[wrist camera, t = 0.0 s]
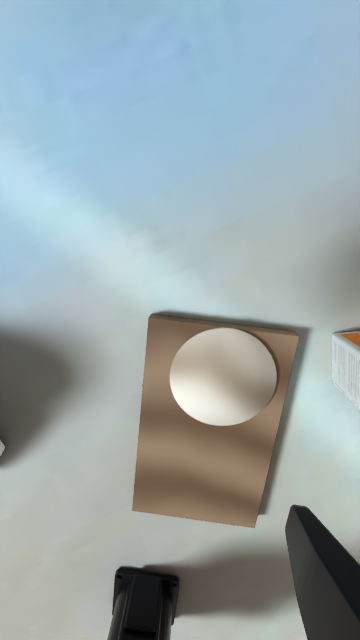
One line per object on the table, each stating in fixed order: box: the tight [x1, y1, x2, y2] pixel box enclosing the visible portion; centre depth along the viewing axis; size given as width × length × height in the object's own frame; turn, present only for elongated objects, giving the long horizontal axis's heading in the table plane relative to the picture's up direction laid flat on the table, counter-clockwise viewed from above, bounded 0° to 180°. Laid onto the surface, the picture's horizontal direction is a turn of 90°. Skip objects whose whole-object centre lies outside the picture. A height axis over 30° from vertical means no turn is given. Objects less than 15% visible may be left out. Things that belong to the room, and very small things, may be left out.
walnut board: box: [132, 314, 299, 528], centre depth 24 cm, size 18×11×2 cm, turn 174°
